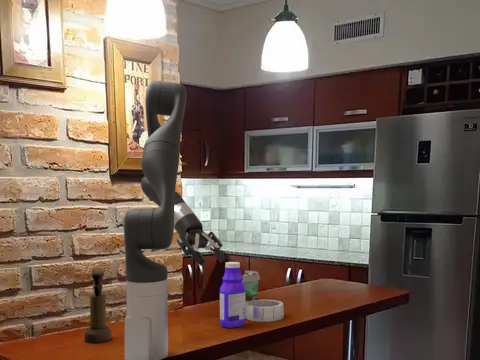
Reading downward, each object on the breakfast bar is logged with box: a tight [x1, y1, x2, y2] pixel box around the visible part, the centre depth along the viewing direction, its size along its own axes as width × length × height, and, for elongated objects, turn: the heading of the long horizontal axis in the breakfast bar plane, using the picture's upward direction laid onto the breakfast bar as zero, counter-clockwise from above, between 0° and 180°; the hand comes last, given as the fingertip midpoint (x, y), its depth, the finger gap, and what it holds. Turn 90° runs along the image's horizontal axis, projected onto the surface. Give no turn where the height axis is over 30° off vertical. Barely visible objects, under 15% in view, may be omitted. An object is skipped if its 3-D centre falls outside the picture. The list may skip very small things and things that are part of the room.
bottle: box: [219, 261, 246, 329], centre depth 141 cm, size 7×6×17 cm
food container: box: [241, 270, 261, 303], centre depth 170 cm, size 12×6×10 cm, turn 168°
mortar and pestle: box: [84, 267, 113, 344], centre depth 129 cm, size 7×6×18 cm
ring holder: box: [245, 299, 285, 323], centre depth 150 cm, size 11×11×4 cm
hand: (213, 262), depth 146 cm, fingers open, 8 cm apart
